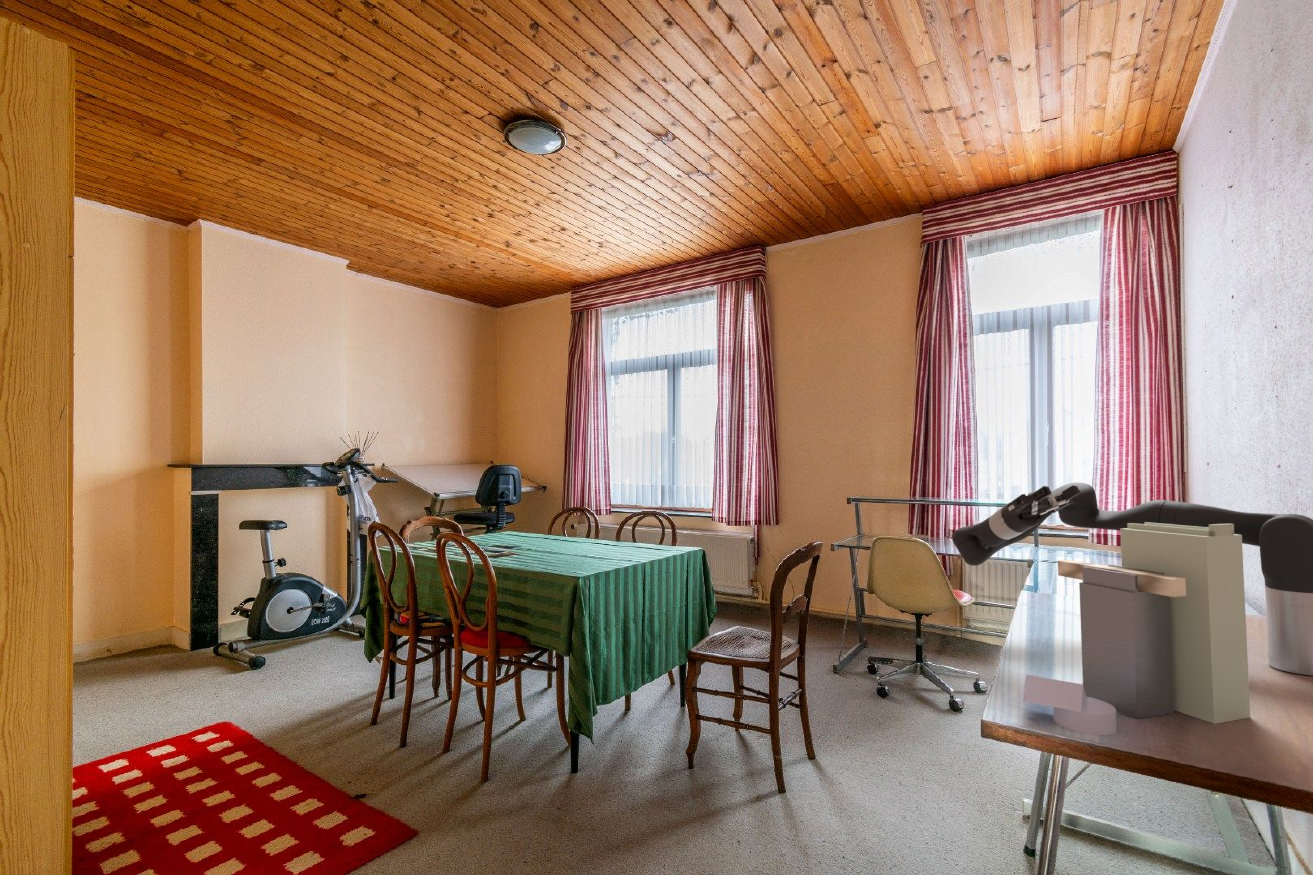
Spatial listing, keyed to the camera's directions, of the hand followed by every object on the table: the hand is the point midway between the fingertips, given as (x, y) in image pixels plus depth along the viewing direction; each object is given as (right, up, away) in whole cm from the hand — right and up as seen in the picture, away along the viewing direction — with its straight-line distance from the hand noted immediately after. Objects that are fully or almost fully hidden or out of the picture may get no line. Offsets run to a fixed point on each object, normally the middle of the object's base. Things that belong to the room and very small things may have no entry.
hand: (1063, 489), depth 144 cm
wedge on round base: (-21, -38, -34) cm, 55 cm away
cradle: (-6, -38, -28) cm, 47 cm away
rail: (-7, -16, -26) cm, 31 cm away
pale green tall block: (+5, -38, -28) cm, 47 cm away
